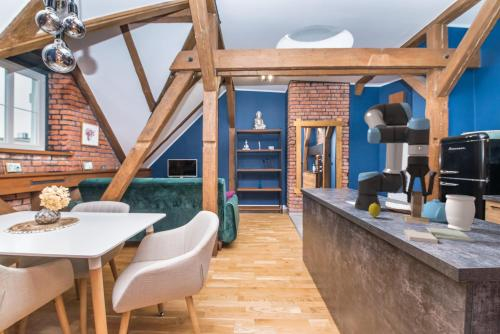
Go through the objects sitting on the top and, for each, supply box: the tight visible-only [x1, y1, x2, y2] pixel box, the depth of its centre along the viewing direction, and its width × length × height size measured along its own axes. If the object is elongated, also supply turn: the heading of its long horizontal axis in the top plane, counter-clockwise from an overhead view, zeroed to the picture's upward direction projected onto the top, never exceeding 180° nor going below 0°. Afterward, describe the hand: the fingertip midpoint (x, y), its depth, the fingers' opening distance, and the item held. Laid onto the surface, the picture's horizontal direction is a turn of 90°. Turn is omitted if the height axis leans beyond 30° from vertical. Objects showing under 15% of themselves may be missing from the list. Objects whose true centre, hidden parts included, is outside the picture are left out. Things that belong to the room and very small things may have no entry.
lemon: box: [368, 203, 381, 218], centre depth 134 cm, size 6×6×8 cm
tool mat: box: [426, 227, 475, 243], centre depth 104 cm, size 14×12×1 cm
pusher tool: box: [403, 190, 430, 225], centre depth 106 cm, size 5×8×13 cm, turn 68°
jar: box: [445, 194, 476, 232], centre depth 114 cm, size 11×10×15 cm
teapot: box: [421, 198, 449, 224], centre depth 130 cm, size 15×15×11 cm
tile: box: [403, 229, 439, 245], centre depth 100 cm, size 2×9×11 cm
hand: (416, 210), depth 106 cm, fingers closed on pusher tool, 3 cm apart
